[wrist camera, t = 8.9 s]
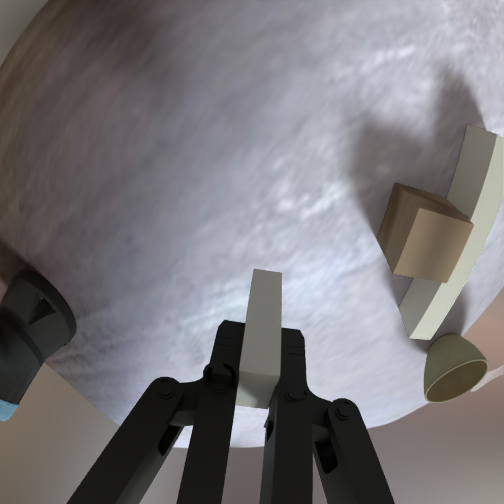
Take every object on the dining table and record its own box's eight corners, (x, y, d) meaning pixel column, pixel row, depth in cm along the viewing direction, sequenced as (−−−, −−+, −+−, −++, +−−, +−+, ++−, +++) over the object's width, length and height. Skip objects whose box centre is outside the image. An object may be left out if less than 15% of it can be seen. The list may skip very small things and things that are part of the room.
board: (397, 307, 31) (408, 338, 26) (466, 123, 19) (496, 133, 15) (418, 310, 31) (430, 339, 26) (488, 135, 19) (518, 147, 15)
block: (376, 238, 27) (392, 273, 22) (394, 182, 24) (419, 207, 19) (424, 249, 27) (446, 283, 22) (444, 197, 23) (474, 224, 18)
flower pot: (401, 362, 36) (410, 402, 30) (442, 314, 31) (461, 355, 25) (443, 369, 36) (454, 404, 30) (482, 327, 31) (500, 362, 25)
